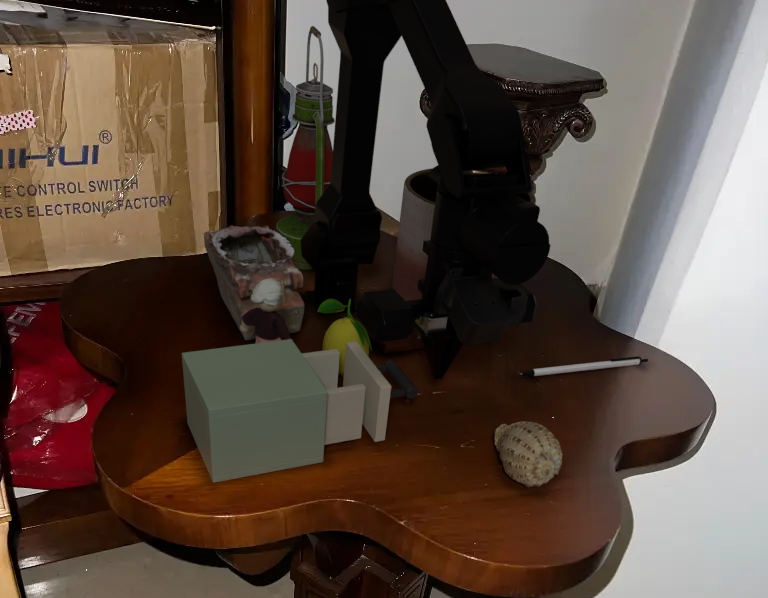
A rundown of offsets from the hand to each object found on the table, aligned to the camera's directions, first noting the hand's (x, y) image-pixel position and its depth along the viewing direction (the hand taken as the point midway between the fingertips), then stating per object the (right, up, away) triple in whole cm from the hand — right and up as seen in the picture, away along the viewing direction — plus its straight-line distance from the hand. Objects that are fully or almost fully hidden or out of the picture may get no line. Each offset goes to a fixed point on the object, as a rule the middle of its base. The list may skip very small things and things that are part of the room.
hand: (436, 377), depth 86 cm
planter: (+4, +15, +25) cm, 30 cm away
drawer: (-11, -5, -2) cm, 12 cm away
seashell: (+9, -10, -3) cm, 14 cm away
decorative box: (-25, +12, +17) cm, 33 cm away
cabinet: (-20, -8, -5) cm, 22 cm away
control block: (-5, +9, +16) cm, 19 cm away
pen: (+20, +3, +14) cm, 25 cm away
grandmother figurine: (-20, 0, +4) cm, 20 cm away
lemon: (-11, +1, +7) cm, 13 cm away
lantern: (-18, +24, +33) cm, 44 cm away
